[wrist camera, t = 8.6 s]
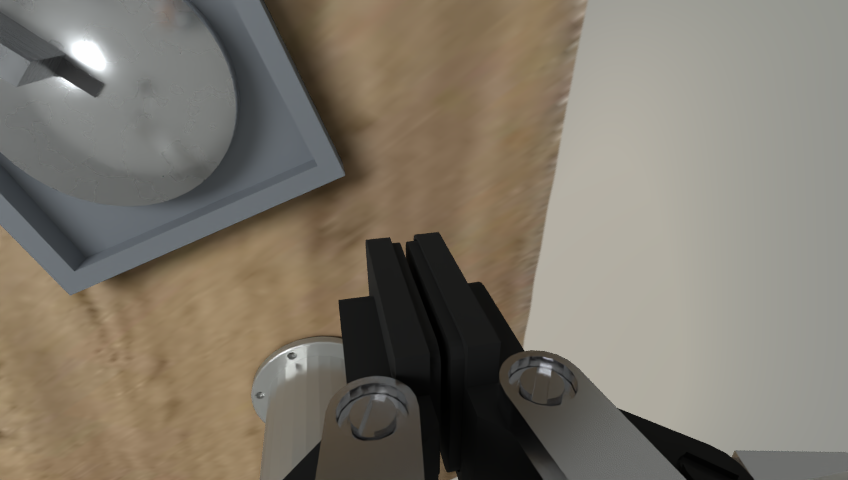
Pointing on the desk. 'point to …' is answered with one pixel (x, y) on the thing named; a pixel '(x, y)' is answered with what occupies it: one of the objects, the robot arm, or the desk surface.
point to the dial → (115, 97)
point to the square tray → (208, 202)
